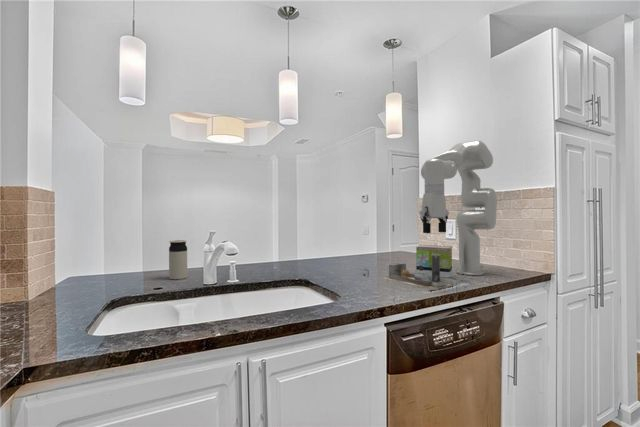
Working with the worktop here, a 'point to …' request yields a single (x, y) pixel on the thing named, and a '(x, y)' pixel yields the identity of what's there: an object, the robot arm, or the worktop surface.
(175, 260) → the travel mug
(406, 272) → the walnut
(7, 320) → the worktop surface
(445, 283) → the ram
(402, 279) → the press bed
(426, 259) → the tea box
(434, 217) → the robot arm
